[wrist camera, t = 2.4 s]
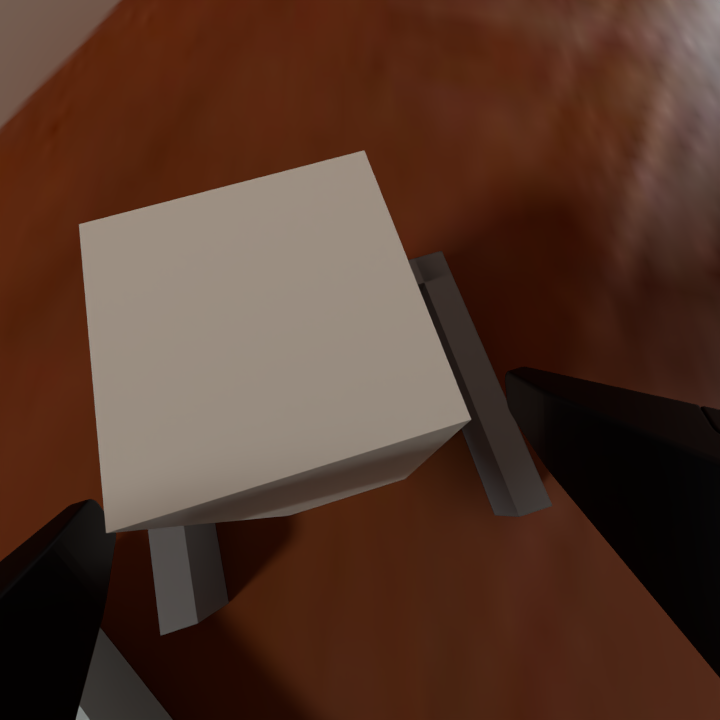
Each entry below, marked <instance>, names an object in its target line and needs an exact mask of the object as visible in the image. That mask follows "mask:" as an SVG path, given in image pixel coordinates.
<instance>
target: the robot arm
mask: <svg viewBox="0 0 720 720" xmlns="http://www.w3.org/2000/svg"><path fill="white" fill-rule="evenodd" d="M505 384H506V396H507V405H508V409H509V411H510V413H511V415H512V416H513V418H514V419H515V421H516V422H517V424H518V426H519V427H520V429H521V430H522V432H523V433H524V435H525V436H526V438H527V439H528V441H529V442H530V444H531V445H532V447H533V449H534V450H535V452H536V453H537V455H538V456H539V458H540V459H541V461H542V462H543V464H544V465H545V466H546V468H547V469H548V470H549V472H550V473H551V474H552V475H553V477H554V478H555V479H556V480H557V482H558V483H559V484H560V485H561V486H562V488H563V489H564V490H565V491H566V492H567V494H568V495H569V496H570V497H571V498H572V500H573V501H574V502H575V503H576V504H577V506H578V507H579V508H580V509H581V511H582V512H583V513H584V514H585V515H586V517H587V518H588V519H589V520H590V521H591V523H592V524H593V525H594V526H595V527H596V529H597V530H598V531H599V532H600V534H601V535H602V536H603V537H604V538H605V540H606V541H607V542H608V543H609V544H610V546H611V547H612V548H613V549H614V550H615V552H616V553H617V554H618V555H619V556H620V558H621V559H622V560H623V561H624V563H625V564H626V565H627V566H628V567H629V569H630V570H631V571H632V572H633V573H634V575H635V576H636V577H637V578H638V579H639V581H640V582H641V583H642V584H643V586H644V587H645V588H646V589H647V590H648V592H649V593H650V594H651V595H652V596H653V598H654V599H655V600H656V601H657V602H658V604H659V605H660V606H661V607H662V609H663V610H664V611H665V612H666V613H667V615H668V616H669V617H670V618H671V619H672V621H673V622H674V623H675V624H676V625H677V627H678V628H679V629H680V630H681V631H682V633H683V634H684V635H685V636H686V638H687V639H688V640H689V641H690V642H691V644H692V645H693V646H694V647H695V648H696V650H697V651H698V652H699V653H700V654H701V656H702V657H703V658H704V659H705V661H706V662H707V663H708V664H709V665H710V667H711V668H712V669H713V670H714V671H715V673H716V674H717V675H718V676H719V677H720V410H718V409H714V408H710V407H705V406H703V407H701V408H700V407H699V406H698V405H696V404H691V403H687V402H682V401H678V400H673V399H668V398H664V397H659V396H655V395H650V394H646V393H641V392H637V391H632V390H628V389H623V388H619V387H614V386H610V385H605V384H601V383H596V382H592V381H587V380H583V379H578V378H574V377H569V376H565V375H560V374H556V373H551V372H547V371H542V370H538V369H533V368H529V367H520V368H517V369H514V370H510V371H508V372H507V373H506V375H505ZM115 541H116V532H114V533H106V526H105V515H104V511H103V510H102V508H101V507H100V505H99V504H98V503H97V502H96V501H95V500H92V499H88V500H85V501H81V502H78V503H75V504H72V505H70V506H68V507H67V508H66V509H64V510H63V511H62V512H61V513H59V514H58V515H57V516H56V517H55V518H53V519H52V520H51V521H50V522H48V523H47V524H46V525H45V526H44V527H42V528H41V529H40V530H39V531H37V532H36V533H35V534H34V535H32V536H31V537H30V538H29V539H28V540H26V541H25V542H24V543H23V544H21V545H20V546H19V547H18V548H16V549H15V550H14V551H13V552H12V553H10V554H9V555H8V556H7V557H5V558H4V559H3V560H2V561H1V562H0V720H76V717H77V713H78V709H79V705H80V702H81V698H82V694H83V690H84V686H85V683H86V679H87V675H88V671H89V668H90V664H91V660H92V656H93V652H94V649H95V645H96V641H97V637H98V633H99V630H100V626H101V622H102V618H103V613H104V609H105V603H106V598H107V592H108V585H109V579H110V573H111V566H112V560H113V553H114V547H115Z"/></svg>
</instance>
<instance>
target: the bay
mask: <svg viewBox="0 0 720 720" xmlns="http://www.w3.org/2000/svg"><path fill="white" fill-rule="evenodd" d="M408 262H409V264H410V267H411V269H412V272H413V274H414V277H415V279H416V282H417V285H418V287H419V290H420V292H421V295H422V297H423V300H424V302H425V305H426V307H427V310H428V312H429V315H430V317H431V320H432V322H433V325H434V327H435V330H436V332H437V335H438V337H439V340H440V342H441V345H442V347H443V350H444V352H445V355H446V357H447V360H448V362H449V365H450V367H451V370H452V372H453V375H454V377H455V380H456V382H457V385H458V388H459V390H460V393H461V395H462V398H463V400H464V403H465V405H466V408H467V410H468V413H469V415H470V418H471V420H470V421H469V422H468V423H467V424H466V425H464V426H463V427H462V428H461V429H462V431H463V434H464V437H465V439H466V442H467V444H468V447H469V450H470V452H471V455H472V457H473V460H474V462H475V465H476V468H477V470H478V473H479V475H480V478H481V481H482V483H483V486H484V488H485V491H486V493H487V496H488V499H489V501H490V504H491V506H492V509H493V512H494V514H495V515H500V516H516V517H520V516H523V515H526V514H529V513H532V512H535V511H538V510H541V509H544V508H547V507H550V506H552V504H551V502H550V499H549V497H548V495H547V492H546V490H545V488H544V485H543V483H542V481H541V479H540V476H539V474H538V472H537V469H536V467H535V465H534V462H533V460H532V458H531V456H530V453H529V451H528V449H527V446H526V444H525V442H524V439H523V437H522V435H521V433H520V430H519V428H518V426H517V423H516V421H515V419H514V418H513V416H512V415H511V413H510V411H509V409H508V405H507V400H506V398H505V396H504V393H503V391H502V389H501V386H500V384H499V382H498V380H497V377H496V375H495V373H494V370H493V368H492V366H491V363H490V361H489V359H488V357H487V354H486V352H485V350H484V347H483V345H482V343H481V340H480V338H479V336H478V333H477V331H476V329H475V327H474V324H473V322H472V320H471V317H470V315H469V313H468V310H467V308H466V306H465V304H464V301H463V299H462V297H461V294H460V292H459V290H458V287H457V285H456V283H455V280H454V278H453V276H452V274H451V271H450V269H449V267H448V264H447V262H446V260H445V257H444V255H443V253H442V251H440V252H436V253H432V254H429V255H425V256H422V257H418V258H415V259H411V260H408ZM148 534H149V543H150V551H151V559H152V568H153V576H154V584H155V593H156V601H157V609H158V618H159V626H160V635H164V634H167V633H170V632H173V631H176V630H179V629H182V628H185V627H188V626H191V625H194V624H197V623H199V622H201V621H202V620H204V619H205V618H207V617H208V616H210V615H211V614H213V613H214V612H216V611H217V610H219V609H220V608H222V607H223V606H225V605H226V604H228V603H229V602H228V596H227V590H226V584H225V578H224V573H223V567H222V561H221V555H220V549H219V543H218V538H217V532H216V526H215V523H207V524H197V525H186V526H176V527H166V528H155V529H148Z"/></svg>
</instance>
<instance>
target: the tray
mask: <svg viewBox="0 0 720 720" xmlns="http://www.w3.org/2000/svg"><path fill="white" fill-rule="evenodd" d="M76 720H173V719H172V718H171V717H170V716H169V714H168V713H167V712H166V711H165V709H164V708H163V707H162V705H161V704H160V703H159V702H158V700H157V699H156V698H155V697H154V695H153V694H152V693H151V691H150V690H149V689H148V688H147V686H146V685H145V684H144V683H143V681H142V680H141V679H140V677H139V676H138V675H137V674H136V672H135V671H134V670H133V669H132V667H131V666H130V665H129V663H128V662H127V661H126V660H125V658H124V657H123V656H122V655H121V653H120V652H119V651H118V649H117V648H116V647H115V646H114V644H113V643H112V642H111V641H110V639H109V638H108V637H107V635H106V634H105V633H104V632H103V630H102V629H101V628H100V630H99V633H98V637H97V641H96V645H95V649H94V652H93V656H92V660H91V664H90V668H89V671H88V675H87V679H86V683H85V686H84V690H83V694H82V698H81V702H80V705H79V709H78V713H77V717H76Z"/></svg>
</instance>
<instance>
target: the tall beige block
mask: <svg viewBox="0 0 720 720" xmlns="http://www.w3.org/2000/svg"><path fill="white" fill-rule="evenodd" d="M79 230H80V241H81V253H82V264H83V275H84V287H85V298H86V310H87V321H88V332H89V344H90V355H91V367H92V378H93V389H94V401H95V412H96V424H97V435H98V446H99V458H100V469H101V480H102V492H103V503H104V515H105V526H106V533H114V532H124V531H135V530H145V529H155V528H166V527H176V526H186V525H197V524H207V523H218V522H228V521H238V520H249V519H259V518H269V517H280V516H290V515H293V514H296V513H299V512H302V511H305V510H309V509H312V508H315V507H318V506H321V505H324V504H327V503H331V502H334V501H337V500H340V499H343V498H346V497H349V496H352V495H356V494H359V493H362V492H365V491H368V490H371V489H374V488H378V487H381V486H384V485H387V484H390V483H393V482H396V481H400V480H403V479H405V478H406V477H408V476H409V475H410V474H411V473H412V472H413V471H414V470H415V469H417V468H418V467H419V466H420V465H421V464H422V463H423V462H424V461H425V460H427V459H428V458H429V457H430V456H431V455H432V454H433V453H434V452H435V451H437V450H438V449H439V448H440V447H441V446H442V445H443V444H444V443H445V442H447V441H448V440H449V439H450V438H451V437H452V436H453V435H454V434H456V433H457V432H458V431H459V430H460V429H461V428H462V427H463V426H464V425H466V424H467V423H468V422H469V421H470V420H471V418H470V415H469V413H468V410H467V408H466V405H465V403H464V400H463V398H462V395H461V393H460V390H459V388H458V385H457V382H456V380H455V377H454V375H453V372H452V370H451V367H450V365H449V362H448V360H447V357H446V355H445V352H444V350H443V347H442V345H441V342H440V340H439V337H438V335H437V332H436V330H435V327H434V325H433V322H432V320H431V317H430V315H429V312H428V310H427V307H426V305H425V302H424V300H423V297H422V295H421V292H420V290H419V287H418V285H417V282H416V279H415V277H414V274H413V272H412V269H411V267H410V264H409V262H408V259H407V257H406V254H405V252H404V249H403V247H402V244H401V242H400V239H399V237H398V234H397V232H396V229H395V227H394V224H393V222H392V219H391V217H390V214H389V212H388V209H387V207H386V204H385V202H384V199H383V197H382V194H381V192H380V189H379V187H378V184H377V182H376V179H375V176H374V174H373V171H372V169H371V166H370V164H369V161H368V159H367V156H366V154H365V151H361V152H357V153H353V154H349V155H345V156H341V157H338V158H334V159H330V160H326V161H322V162H318V163H314V164H311V165H307V166H303V167H299V168H295V169H291V170H287V171H283V172H280V173H276V174H272V175H268V176H264V177H260V178H256V179H253V180H249V181H245V182H241V183H237V184H233V185H229V186H226V187H222V188H218V189H214V190H210V191H206V192H202V193H199V194H195V195H191V196H187V197H183V198H179V199H175V200H171V201H168V202H164V203H160V204H156V205H152V206H148V207H144V208H141V209H137V210H133V211H129V212H125V213H121V214H117V215H114V216H110V217H106V218H102V219H98V220H94V221H90V222H87V223H83V224H79Z"/></svg>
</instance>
